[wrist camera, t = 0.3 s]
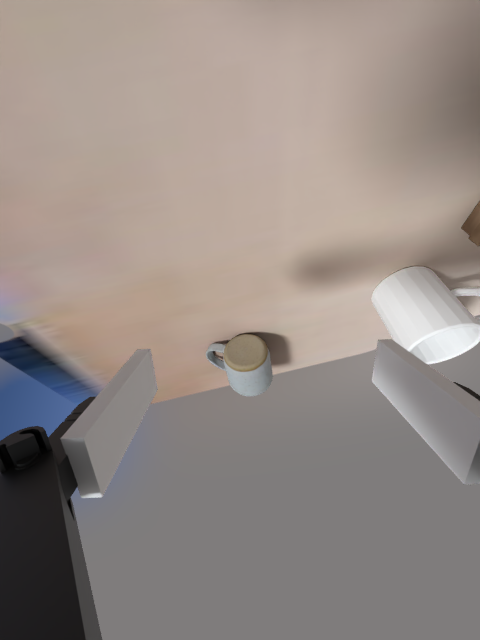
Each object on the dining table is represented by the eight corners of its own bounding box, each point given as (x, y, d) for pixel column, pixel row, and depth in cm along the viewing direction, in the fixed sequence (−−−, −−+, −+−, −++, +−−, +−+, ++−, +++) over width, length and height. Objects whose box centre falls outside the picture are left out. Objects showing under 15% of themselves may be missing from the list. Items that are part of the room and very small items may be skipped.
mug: (466, 280, 35) (523, 337, 28) (376, 315, 39) (408, 371, 33) (470, 238, 29) (542, 297, 23) (365, 284, 34) (401, 344, 27)
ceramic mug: (266, 327, 39) (272, 370, 34) (269, 354, 46) (275, 394, 41) (200, 336, 40) (197, 380, 35) (212, 361, 47) (211, 402, 42)
